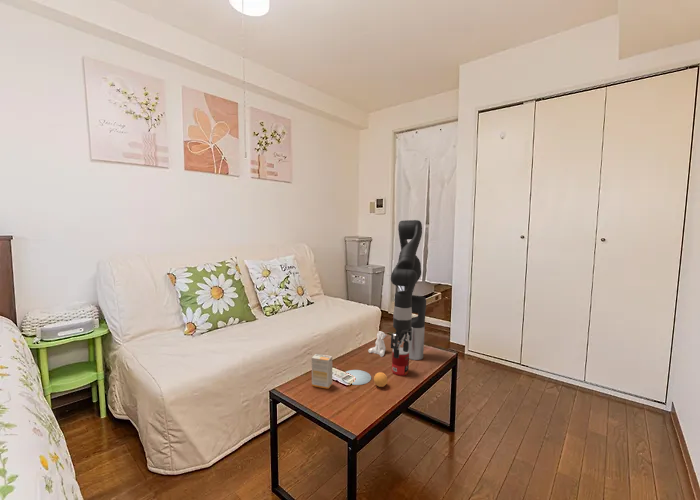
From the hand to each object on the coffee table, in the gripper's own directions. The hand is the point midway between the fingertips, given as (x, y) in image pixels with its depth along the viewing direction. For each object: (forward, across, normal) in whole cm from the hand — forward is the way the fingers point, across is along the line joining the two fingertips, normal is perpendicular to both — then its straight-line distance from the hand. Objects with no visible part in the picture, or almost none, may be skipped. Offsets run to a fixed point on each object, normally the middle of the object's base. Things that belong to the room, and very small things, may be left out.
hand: (401, 354), depth 136 cm
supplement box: (+17, +15, -30) cm, 38 cm away
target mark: (+17, 0, -22) cm, 28 cm away
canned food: (+17, -17, -9) cm, 25 cm away
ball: (+14, 0, -9) cm, 17 cm away
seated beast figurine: (+16, -31, -29) cm, 45 cm away
